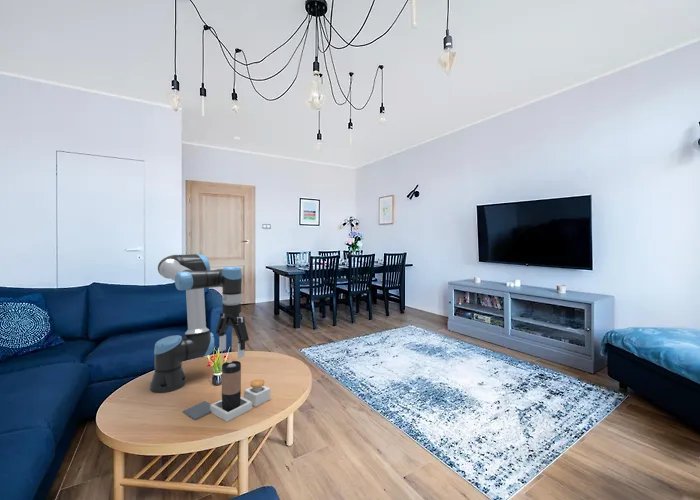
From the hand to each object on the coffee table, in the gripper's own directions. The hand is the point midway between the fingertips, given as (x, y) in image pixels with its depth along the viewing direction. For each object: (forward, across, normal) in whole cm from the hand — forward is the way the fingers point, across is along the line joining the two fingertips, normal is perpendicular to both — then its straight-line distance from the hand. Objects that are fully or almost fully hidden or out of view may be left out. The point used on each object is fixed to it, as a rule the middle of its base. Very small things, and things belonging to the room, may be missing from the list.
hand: (231, 353), depth 132 cm
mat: (+24, -10, -8) cm, 28 cm away
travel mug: (+25, 0, 0) cm, 25 cm away
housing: (+24, +2, +12) cm, 27 cm away
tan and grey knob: (+24, +2, +12) cm, 27 cm away
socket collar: (+24, 0, 0) cm, 24 cm away
